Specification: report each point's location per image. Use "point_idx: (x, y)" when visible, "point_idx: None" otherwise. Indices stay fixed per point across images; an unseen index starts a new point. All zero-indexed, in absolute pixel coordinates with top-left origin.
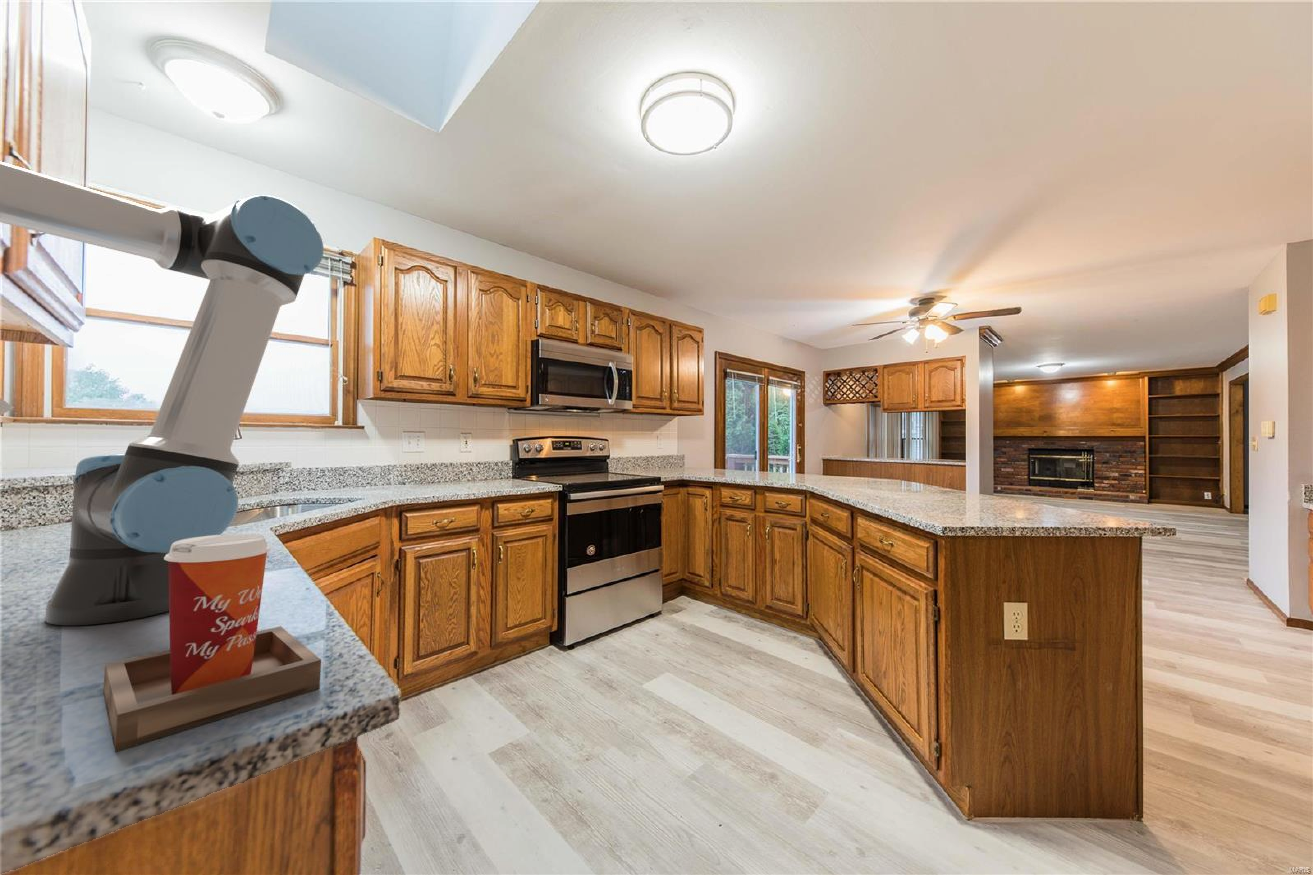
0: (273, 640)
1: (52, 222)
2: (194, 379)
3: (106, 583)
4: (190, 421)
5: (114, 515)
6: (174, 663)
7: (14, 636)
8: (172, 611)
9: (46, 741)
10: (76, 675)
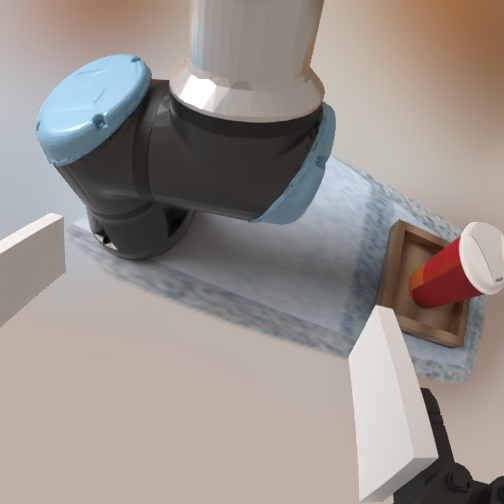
0: (408, 234)
1: None
2: None
3: (164, 221)
4: (307, 45)
5: (269, 217)
6: (441, 305)
7: (142, 287)
8: (462, 299)
9: (412, 361)
10: (312, 313)
